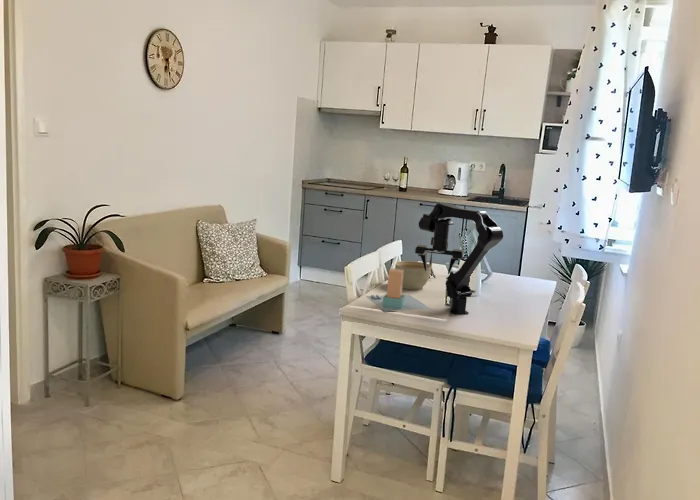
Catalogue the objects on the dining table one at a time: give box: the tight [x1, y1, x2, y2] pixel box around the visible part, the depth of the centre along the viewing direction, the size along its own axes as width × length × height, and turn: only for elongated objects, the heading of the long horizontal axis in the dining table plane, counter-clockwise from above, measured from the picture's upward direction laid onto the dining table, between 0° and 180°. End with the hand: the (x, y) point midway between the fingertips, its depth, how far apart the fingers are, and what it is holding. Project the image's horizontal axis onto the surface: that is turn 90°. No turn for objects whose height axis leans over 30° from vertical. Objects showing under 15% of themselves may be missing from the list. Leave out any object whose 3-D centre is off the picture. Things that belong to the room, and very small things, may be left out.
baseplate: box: [365, 292, 432, 313], centre depth 246 cm, size 20×20×4 cm
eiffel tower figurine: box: [428, 253, 437, 279], centre depth 297 cm, size 15×10×13 cm
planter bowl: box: [394, 260, 433, 291], centre depth 272 cm, size 16×16×11 cm
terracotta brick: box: [386, 267, 404, 299], centre depth 239 cm, size 5×5×11 cm
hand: (437, 272), depth 248 cm, fingers open, 9 cm apart
